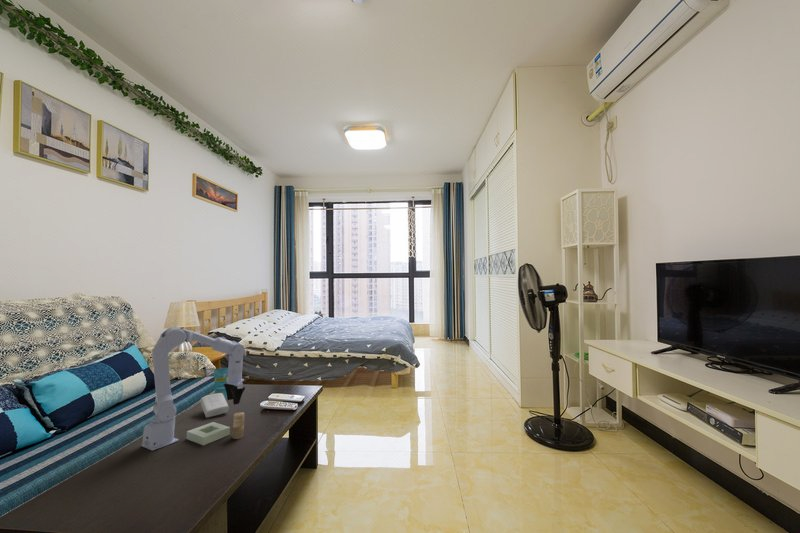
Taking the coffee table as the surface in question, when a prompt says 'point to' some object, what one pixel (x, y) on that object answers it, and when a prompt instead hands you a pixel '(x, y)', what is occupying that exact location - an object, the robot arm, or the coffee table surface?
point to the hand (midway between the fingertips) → (233, 401)
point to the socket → (208, 433)
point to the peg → (238, 425)
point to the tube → (220, 380)
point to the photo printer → (214, 404)
